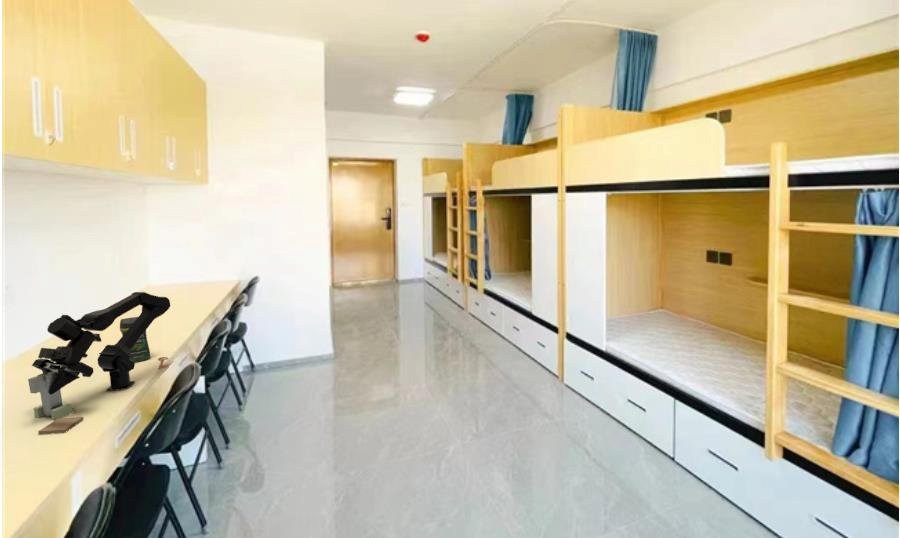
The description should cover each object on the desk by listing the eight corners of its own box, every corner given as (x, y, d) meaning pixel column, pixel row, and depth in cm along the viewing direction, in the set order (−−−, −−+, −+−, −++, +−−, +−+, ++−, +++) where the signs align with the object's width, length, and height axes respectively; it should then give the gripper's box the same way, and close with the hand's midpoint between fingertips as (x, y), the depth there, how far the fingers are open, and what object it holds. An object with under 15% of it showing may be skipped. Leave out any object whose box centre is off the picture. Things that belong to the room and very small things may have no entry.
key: (170, 369, 184) (174, 357, 197) (170, 367, 184) (174, 355, 197) (153, 370, 181) (158, 359, 195) (153, 368, 181) (158, 357, 195)
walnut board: (58, 421, 139) (58, 418, 139) (83, 419, 140) (83, 416, 140) (38, 434, 131) (38, 431, 131) (65, 432, 132) (64, 429, 132)
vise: (55, 408, 148) (54, 400, 147) (76, 411, 146) (74, 402, 145) (35, 417, 142) (33, 408, 142) (55, 420, 140) (54, 410, 140)
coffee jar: (124, 365, 188) (118, 321, 185) (122, 360, 194) (117, 317, 191) (152, 359, 194) (147, 317, 191) (149, 355, 200) (145, 313, 197)
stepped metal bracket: (55, 410, 145) (49, 371, 143) (63, 411, 145) (57, 371, 143) (33, 419, 139) (26, 378, 137) (41, 420, 138) (34, 379, 136)
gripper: (34, 334, 146) (-2, 380, 137) (78, 337, 141) (45, 385, 132) (63, 350, 155) (32, 394, 146) (106, 353, 150) (77, 399, 141)
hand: (45, 393), depth 141 cm, fingers closed on stepped metal bracket, 3 cm apart
